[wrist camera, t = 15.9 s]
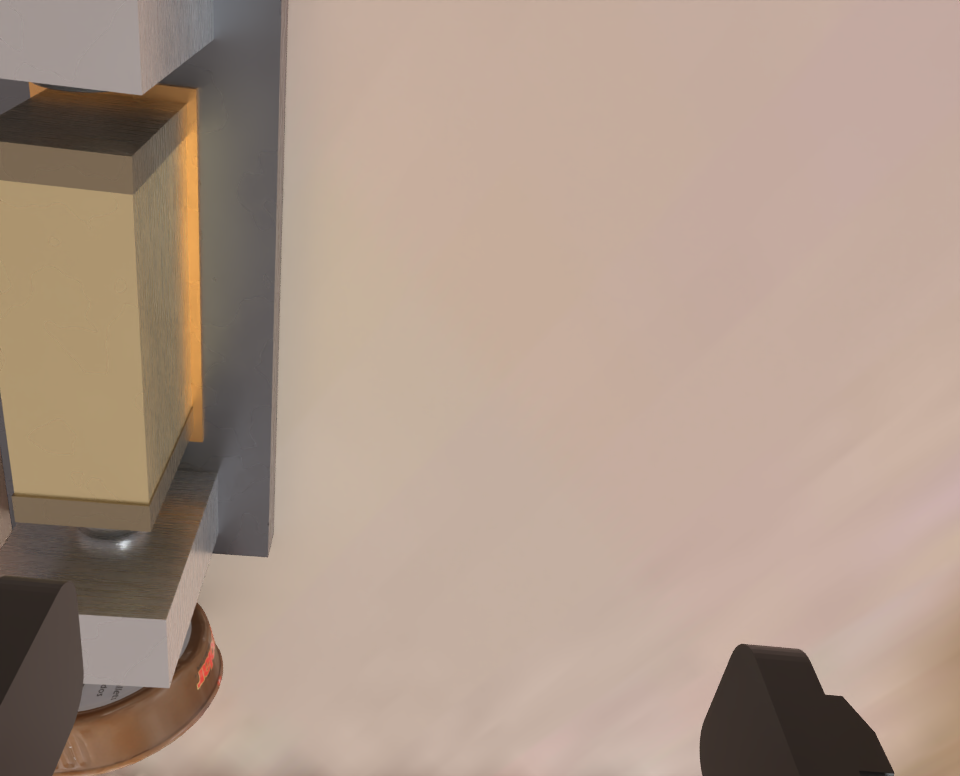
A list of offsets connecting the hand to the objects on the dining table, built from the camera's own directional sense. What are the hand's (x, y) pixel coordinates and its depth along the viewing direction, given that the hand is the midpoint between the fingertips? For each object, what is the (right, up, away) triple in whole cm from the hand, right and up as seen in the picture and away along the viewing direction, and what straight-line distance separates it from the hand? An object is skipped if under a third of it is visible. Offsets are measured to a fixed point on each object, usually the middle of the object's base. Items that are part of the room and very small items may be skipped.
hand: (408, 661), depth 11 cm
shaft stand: (-11, +8, +21) cm, 25 cm away
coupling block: (-11, +7, +20) cm, 24 cm away
